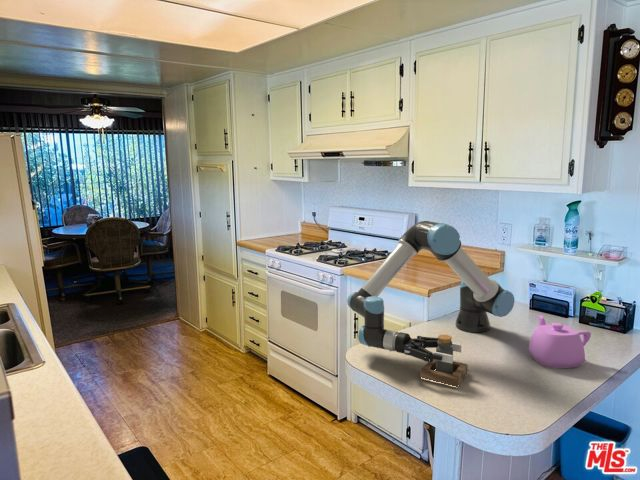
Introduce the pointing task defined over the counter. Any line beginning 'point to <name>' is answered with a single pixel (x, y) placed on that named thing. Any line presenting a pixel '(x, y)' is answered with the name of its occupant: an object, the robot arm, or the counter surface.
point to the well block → (445, 378)
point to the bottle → (445, 348)
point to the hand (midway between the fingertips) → (456, 353)
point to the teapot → (558, 345)
